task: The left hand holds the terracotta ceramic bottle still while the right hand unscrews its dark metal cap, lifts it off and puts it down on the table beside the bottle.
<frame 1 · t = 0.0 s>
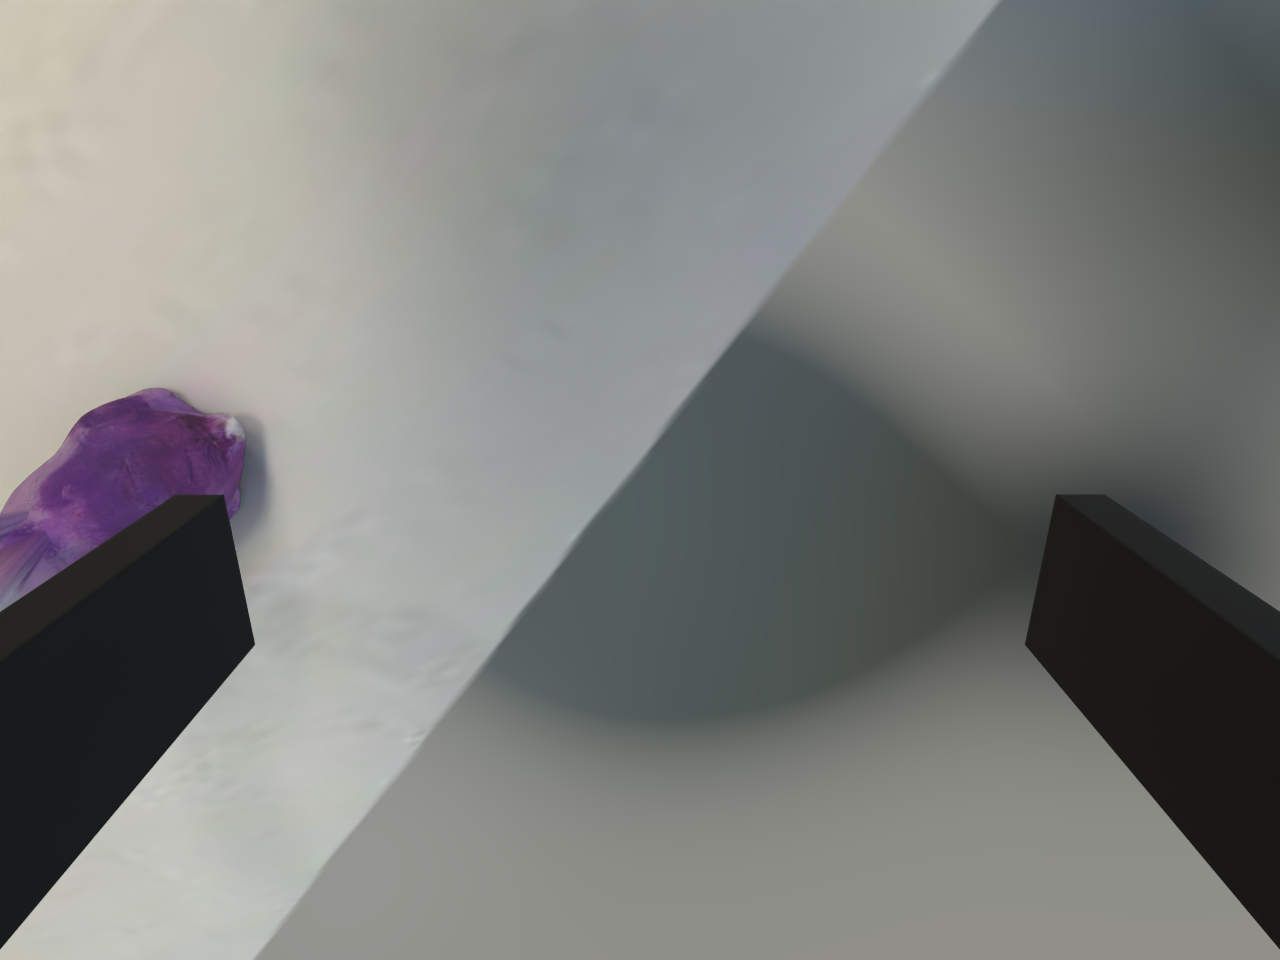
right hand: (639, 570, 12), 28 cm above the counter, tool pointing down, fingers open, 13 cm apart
figurine: (170, 474, 42), on the counter
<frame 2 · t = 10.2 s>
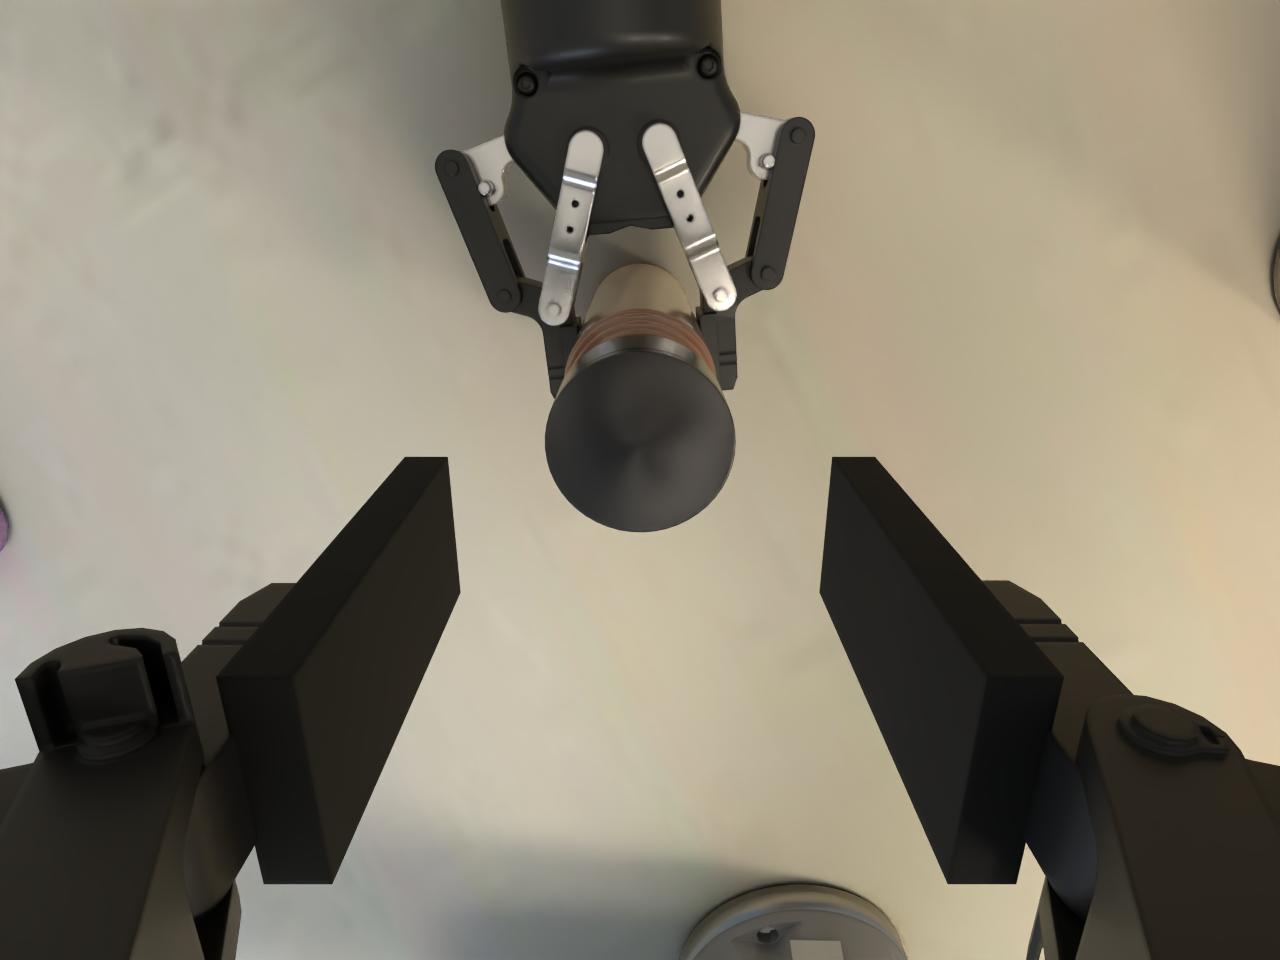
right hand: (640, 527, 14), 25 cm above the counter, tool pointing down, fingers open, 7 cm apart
left hand: (646, 404, 32), fingers closed on bottle, 4 cm apart
cap: (640, 442, 19), point 20 cm above the counter, screwed on, not yet turned
bottle: (640, 314, 37), on the counter, touching left hand
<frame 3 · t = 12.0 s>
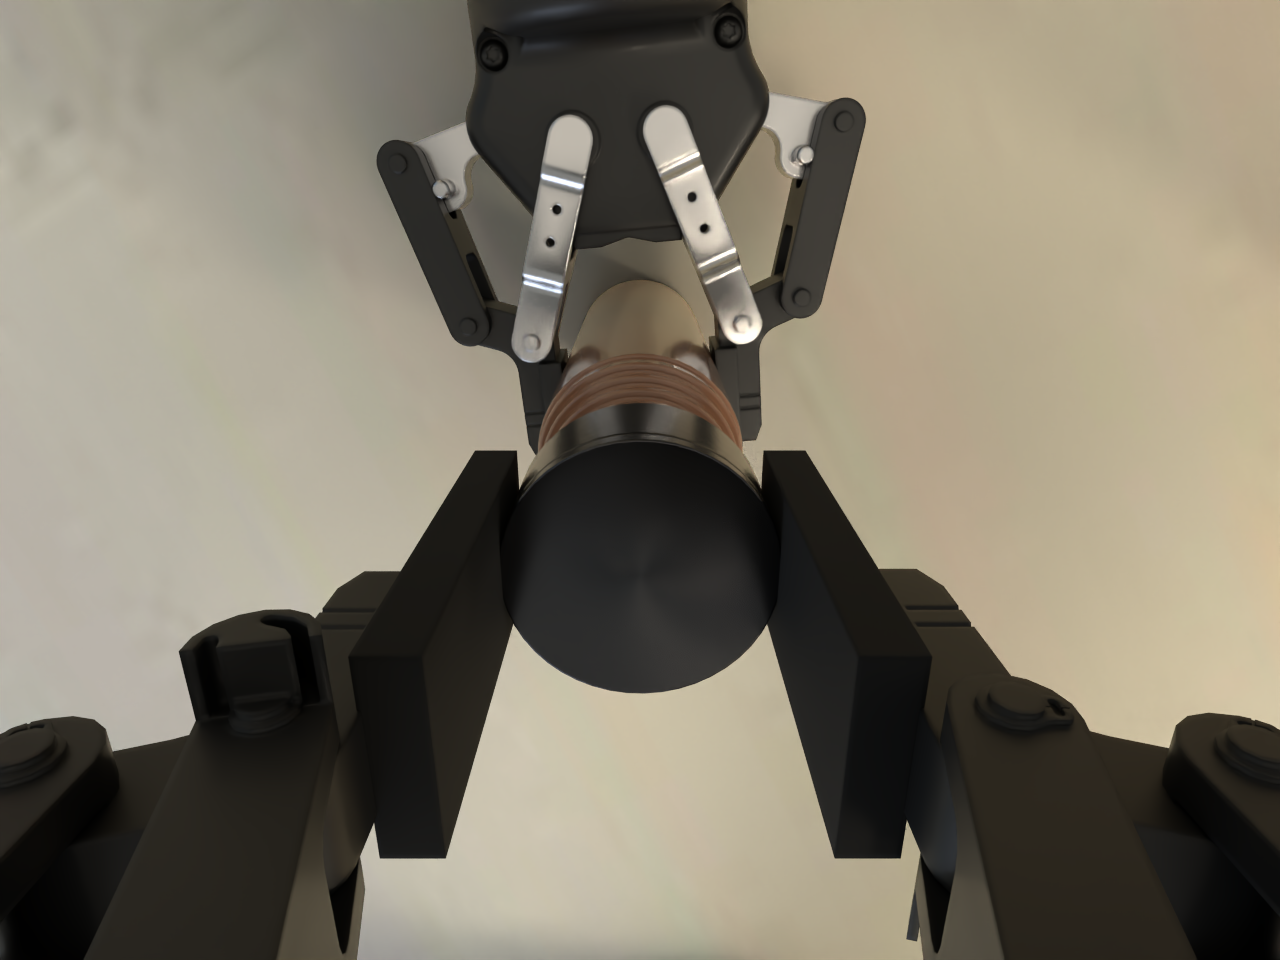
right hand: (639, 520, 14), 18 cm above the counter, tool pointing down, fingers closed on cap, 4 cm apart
left hand: (648, 456, 26), fingers closed on bottle, 4 cm apart
cap: (640, 566, 13), point 20 cm above the counter, screwed on, not yet turned, touching right hand
bottle: (640, 339, 31), on the counter, touching left hand
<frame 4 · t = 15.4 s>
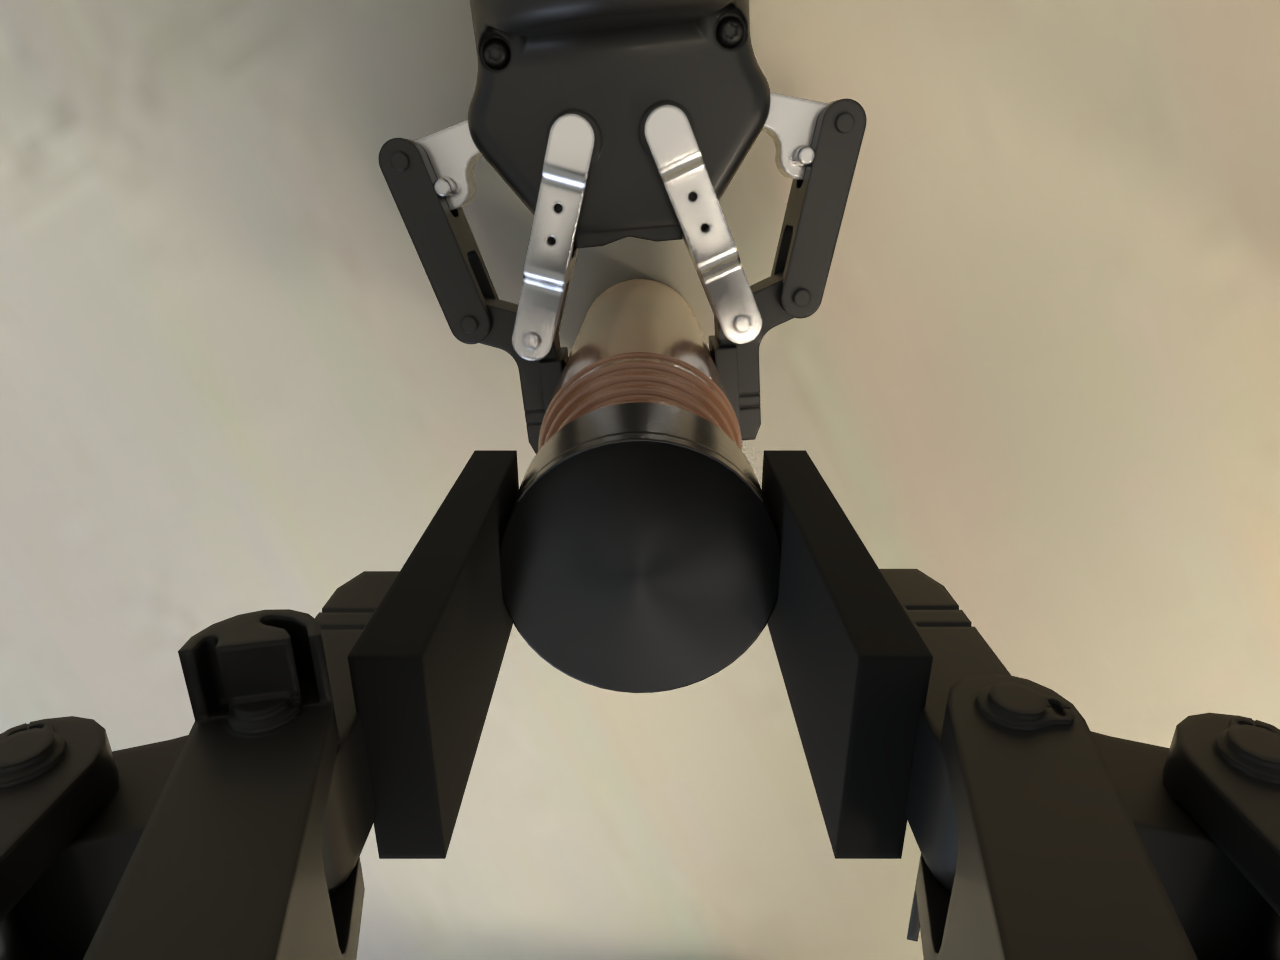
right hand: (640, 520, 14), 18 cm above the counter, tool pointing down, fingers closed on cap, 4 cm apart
left hand: (647, 455, 26), fingers closed on bottle, 4 cm apart
cap: (640, 566, 13), point 20 cm above the counter, turned 109° so far, risen 0.1 cm, still on its thread, touching right hand
bottle: (640, 338, 31), on the counter, touching left hand
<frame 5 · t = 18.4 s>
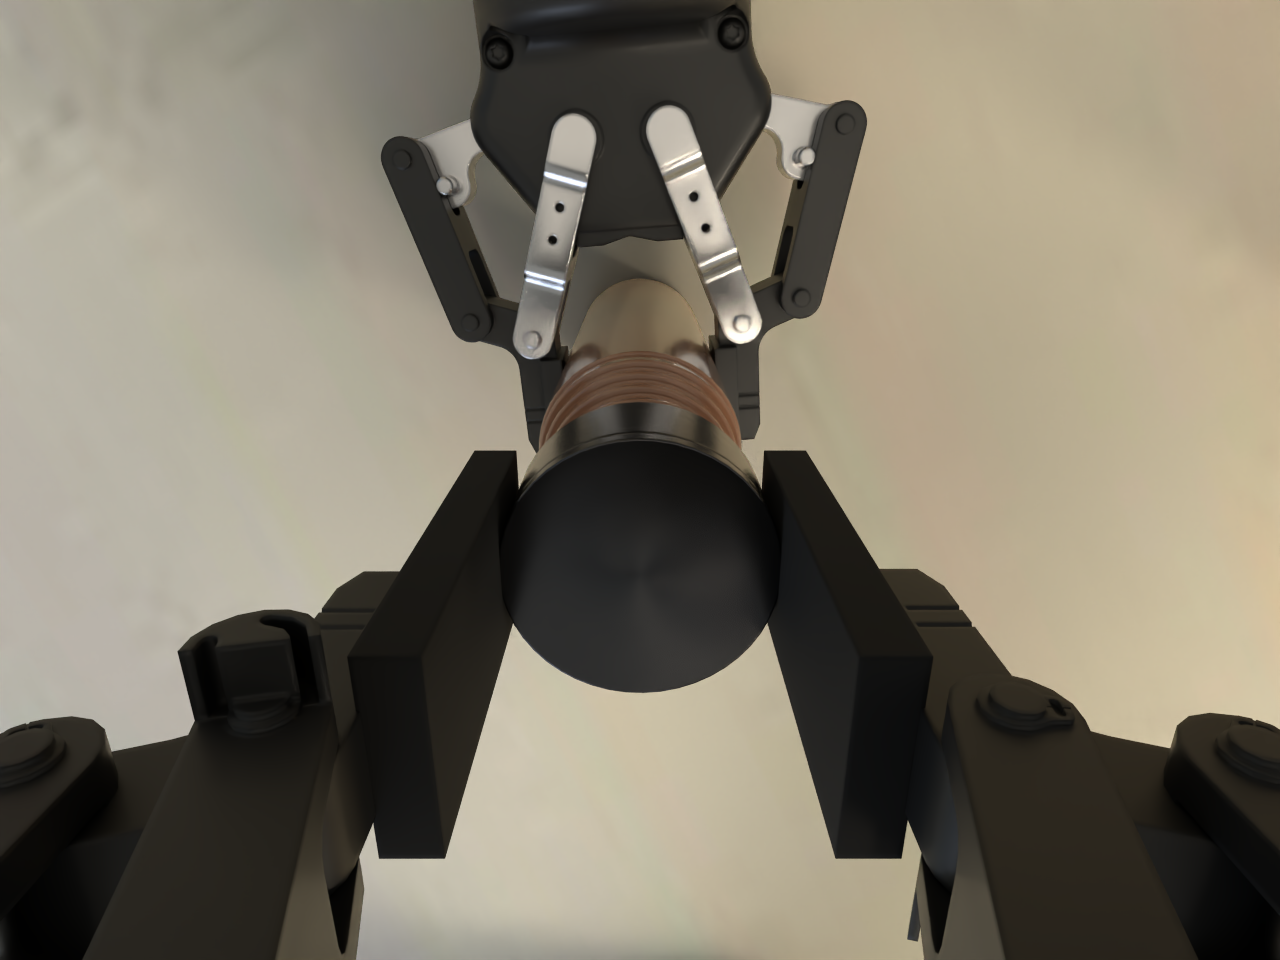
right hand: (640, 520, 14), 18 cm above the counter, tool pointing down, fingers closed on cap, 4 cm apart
left hand: (646, 454, 26), fingers closed on bottle, 4 cm apart
cap: (640, 565, 13), point 20 cm above the counter, turned 218° so far, risen 0.2 cm, still on its thread, touching right hand
bottle: (640, 338, 31), on the counter, touching left hand
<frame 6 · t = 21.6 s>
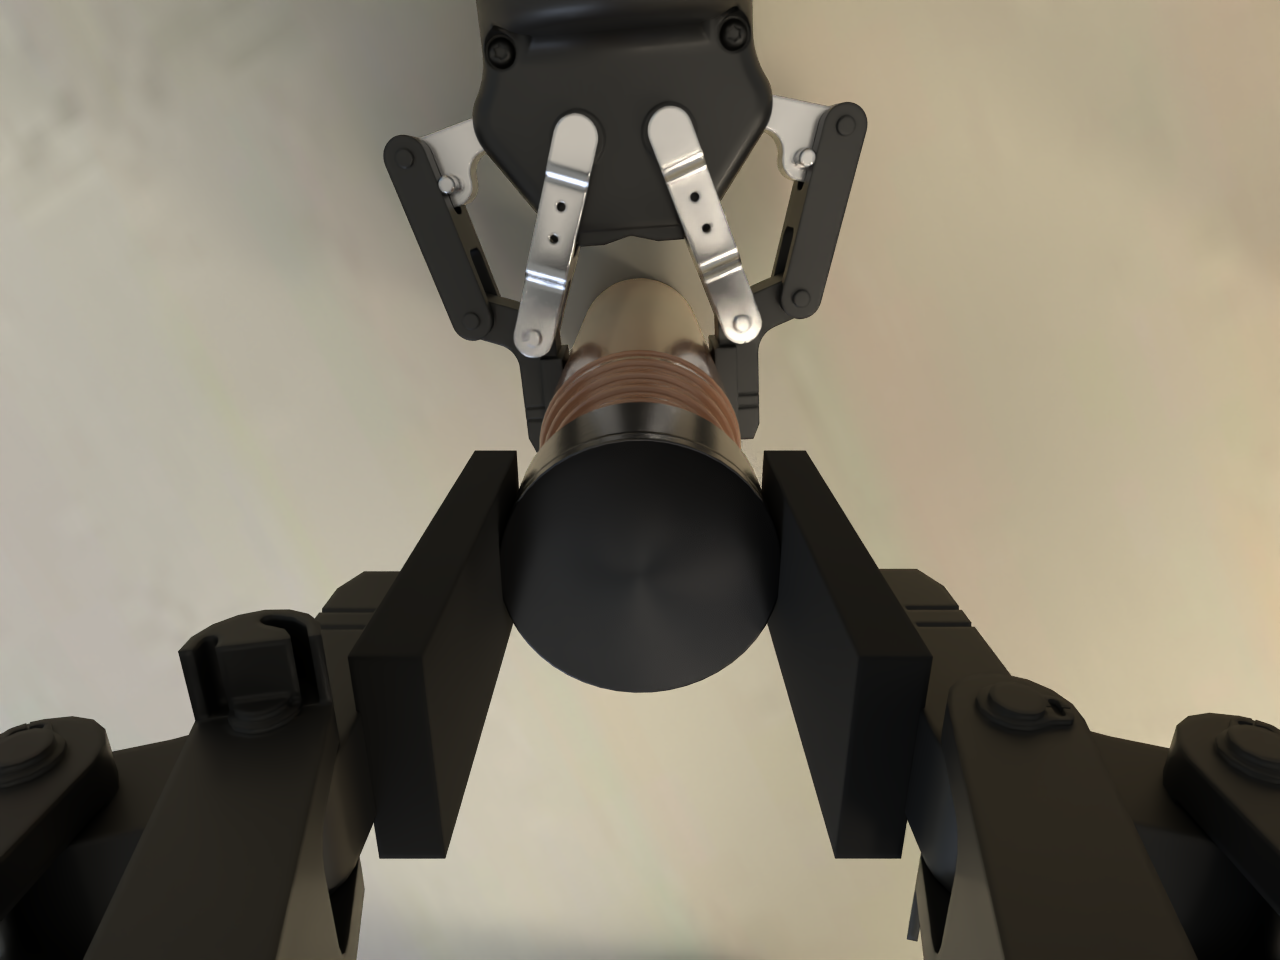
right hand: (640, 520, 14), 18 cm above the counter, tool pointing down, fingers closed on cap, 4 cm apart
left hand: (646, 453, 26), fingers closed on bottle, 4 cm apart
cap: (640, 565, 13), point 20 cm above the counter, turned 327° so far, risen 0.3 cm, still on its thread, touching right hand
bottle: (640, 337, 31), on the counter, touching left hand
when the right hand's fingers open (1 cm above the counter, at t = 27.7 s): cap stays where it is, point 2 cm above the counter.
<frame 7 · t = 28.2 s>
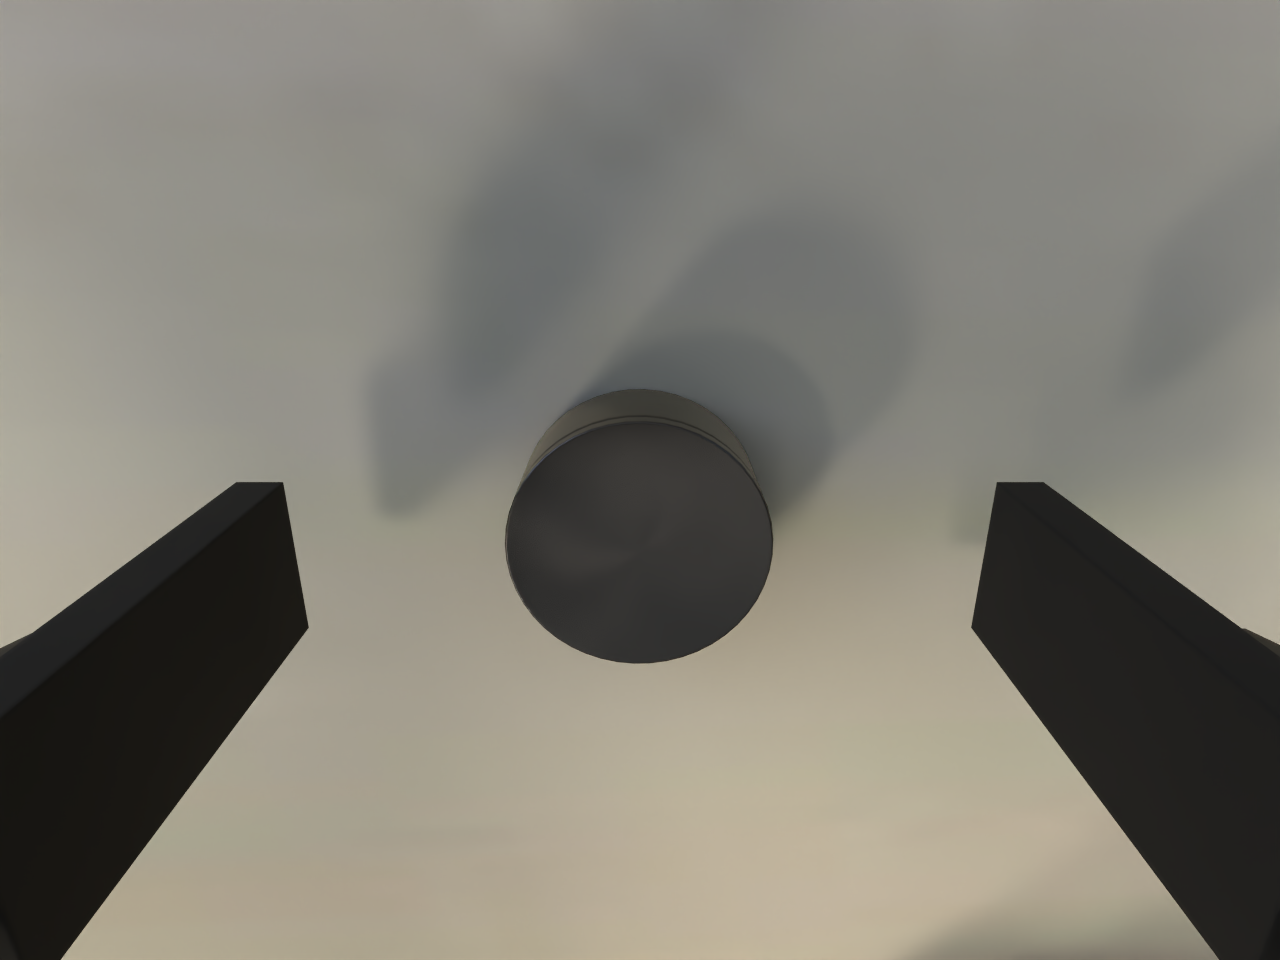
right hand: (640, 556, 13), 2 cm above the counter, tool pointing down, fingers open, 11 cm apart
cap: (639, 542, 13), point 2 cm above the counter, off its thread
when the left hand's fingers open (7 cm above the counter, at t = 29.0 s): bottle stays where it is, on the counter.
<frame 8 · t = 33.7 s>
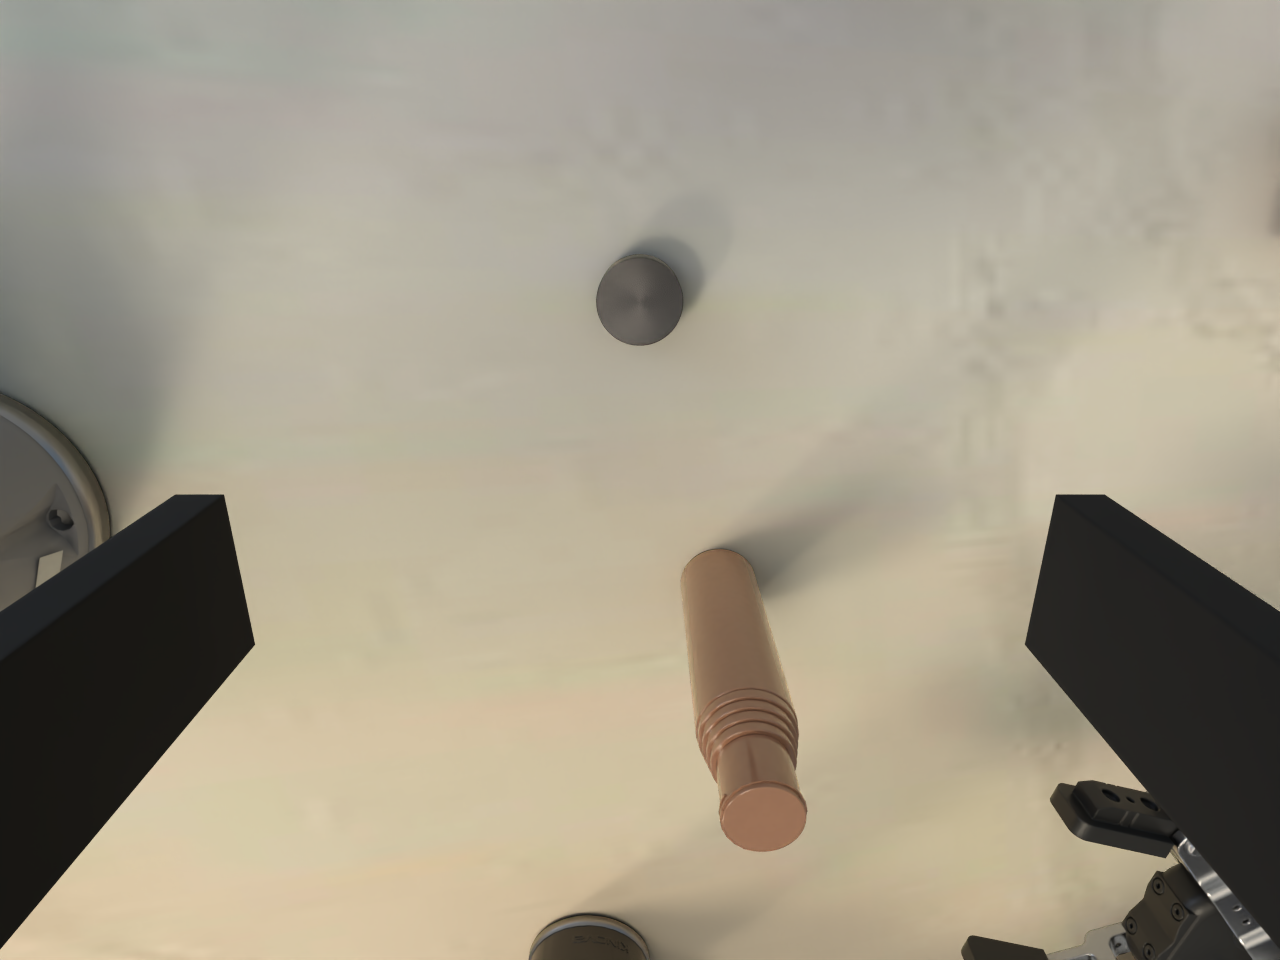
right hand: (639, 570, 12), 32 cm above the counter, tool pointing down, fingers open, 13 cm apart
cap: (639, 301, 41), point 2 cm above the counter, off its thread
bottle: (717, 582, 49), on the counter
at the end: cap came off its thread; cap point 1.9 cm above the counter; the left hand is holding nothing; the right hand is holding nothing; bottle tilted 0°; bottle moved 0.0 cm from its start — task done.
